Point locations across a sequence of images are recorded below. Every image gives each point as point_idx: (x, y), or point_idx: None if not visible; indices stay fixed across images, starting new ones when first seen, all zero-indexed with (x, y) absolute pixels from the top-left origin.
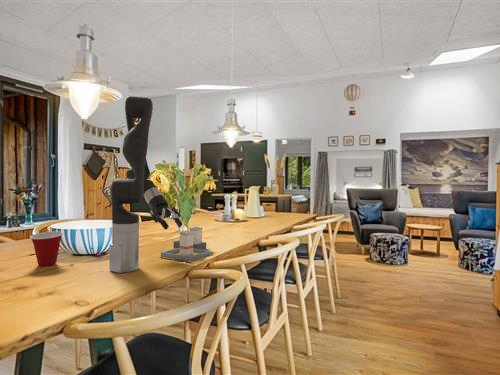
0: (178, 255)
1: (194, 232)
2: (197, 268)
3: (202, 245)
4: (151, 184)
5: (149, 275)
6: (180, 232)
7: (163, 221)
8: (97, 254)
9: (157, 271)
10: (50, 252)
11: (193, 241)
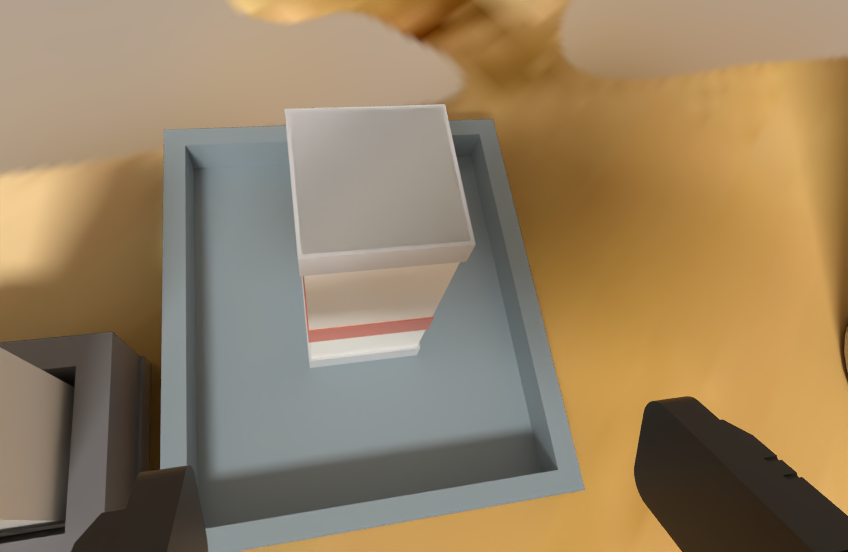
0: (521, 239)
1: None
2: (522, 42)
3: None
4: None
5: (825, 151)
6: (464, 232)
7: (825, 540)
8: None
9: (756, 177)
10: None
11: (42, 435)
